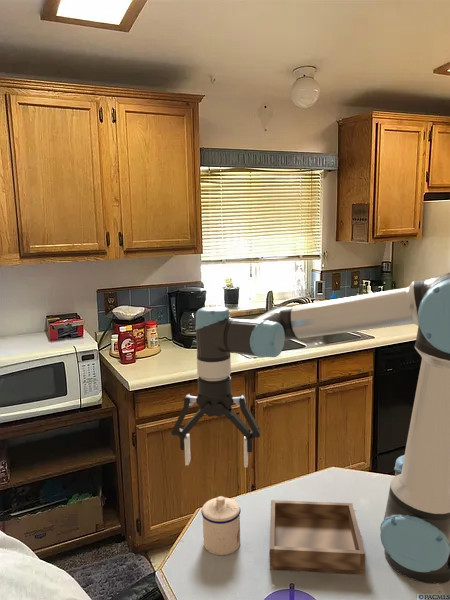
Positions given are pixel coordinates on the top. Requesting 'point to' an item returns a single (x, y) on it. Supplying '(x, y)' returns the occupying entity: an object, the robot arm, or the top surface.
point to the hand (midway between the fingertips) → (216, 463)
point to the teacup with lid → (221, 525)
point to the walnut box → (315, 538)
